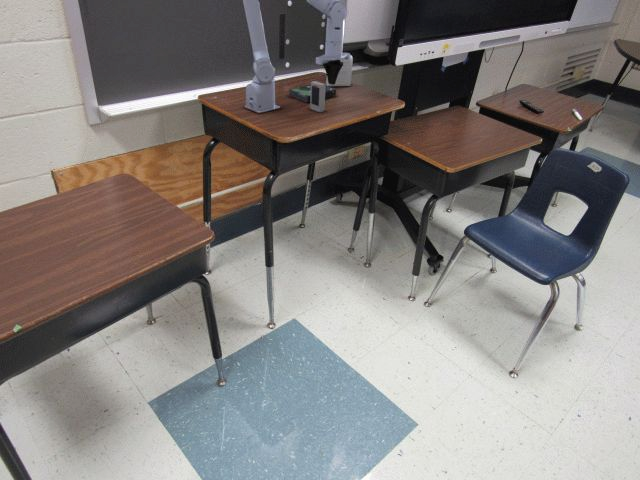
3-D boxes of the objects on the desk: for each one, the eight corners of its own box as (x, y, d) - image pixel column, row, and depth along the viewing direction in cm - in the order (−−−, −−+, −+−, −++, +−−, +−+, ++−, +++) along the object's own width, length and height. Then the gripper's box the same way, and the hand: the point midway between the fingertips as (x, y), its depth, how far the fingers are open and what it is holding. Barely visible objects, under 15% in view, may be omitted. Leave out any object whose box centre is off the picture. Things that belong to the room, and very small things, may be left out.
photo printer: (348, 83, 186) (350, 51, 179) (352, 86, 182) (354, 54, 176) (324, 84, 183) (326, 52, 176) (328, 87, 179) (330, 54, 172)
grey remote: (319, 112, 153) (320, 85, 148) (309, 108, 156) (310, 82, 151) (324, 111, 154) (325, 84, 149) (314, 107, 157) (315, 81, 152)
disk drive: (316, 90, 176) (288, 96, 167) (317, 82, 174) (288, 88, 165) (336, 96, 170) (307, 103, 161) (336, 89, 168) (308, 95, 159)
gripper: (327, 45, 140) (325, 89, 148) (358, 41, 149) (354, 83, 157) (311, 41, 144) (310, 85, 152) (342, 37, 153) (339, 78, 161)
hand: (331, 83), depth 155 cm, fingers closed
